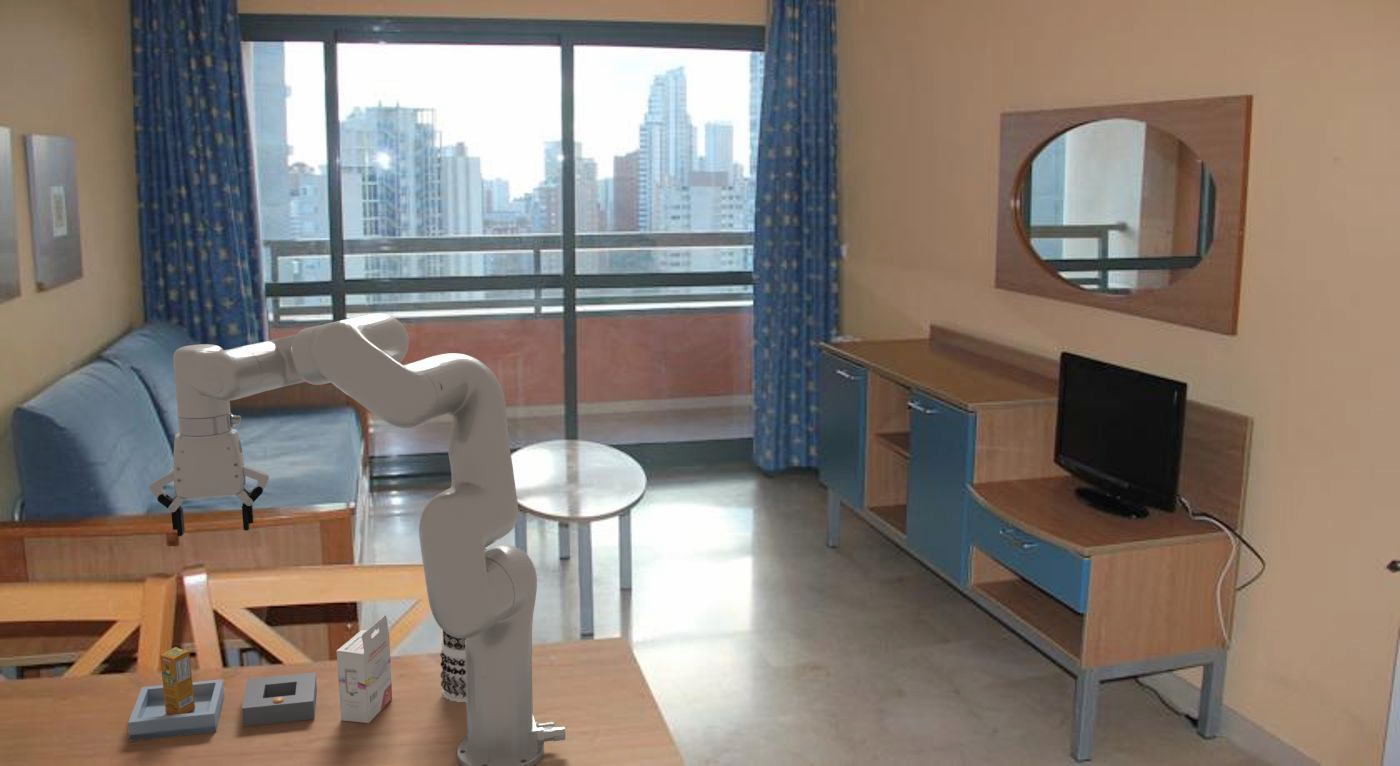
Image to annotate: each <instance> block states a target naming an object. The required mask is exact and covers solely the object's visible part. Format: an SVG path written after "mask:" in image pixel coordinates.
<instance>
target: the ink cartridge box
mask: <svg viewBox="0 0 1400 766" xmlns="http://www.w3.org/2000/svg"><path fill="white" fill-rule="evenodd" d="M390 643H391V642H390V632H389V624H388V618H387V615H383V616H382V617H380V619H378V620H377V621H376V622H375V623H374V624H372V625H371V626H370V627H369V628H368V629H361V630H360V631H358V632H357V633H356V634H355V635H354V636H352V637H351V638H350V639H349V640H348V641H346V642H345V643H344V644H343V645H342V646H340V648H338V649H337V650H336V660H337V661H336V663H337V678H338V693H339V709H340V720H341V721H342V722H343V721H344V722H345V721H346V722H354V723H355V722H356V723H364V724H370V723H371V722H372V720H373V719H374V718H375V717H376V716H377V715H378V714H380V712H382V710H383V709H384V708H385V707H386V706H387V705H388V704H389V703H390V702H391V701H392V699H393V689H392V685H393V683H392V669H391V668H392V665H391V664H392V663H391V645H390Z"/></svg>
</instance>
